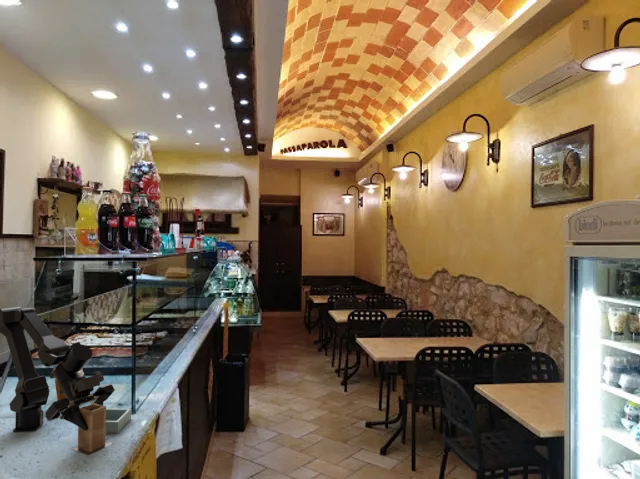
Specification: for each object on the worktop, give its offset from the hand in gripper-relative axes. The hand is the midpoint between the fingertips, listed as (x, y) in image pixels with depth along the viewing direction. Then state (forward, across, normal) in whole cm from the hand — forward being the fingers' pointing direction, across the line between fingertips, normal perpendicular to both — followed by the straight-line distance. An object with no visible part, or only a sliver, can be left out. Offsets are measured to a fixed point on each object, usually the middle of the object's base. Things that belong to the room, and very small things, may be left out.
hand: (95, 426), depth 131 cm
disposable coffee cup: (-21, +18, +31) cm, 42 cm away
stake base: (+4, 0, +6) cm, 7 cm away
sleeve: (+3, 0, +5) cm, 6 cm away
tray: (-2, +12, +11) cm, 16 cm away
